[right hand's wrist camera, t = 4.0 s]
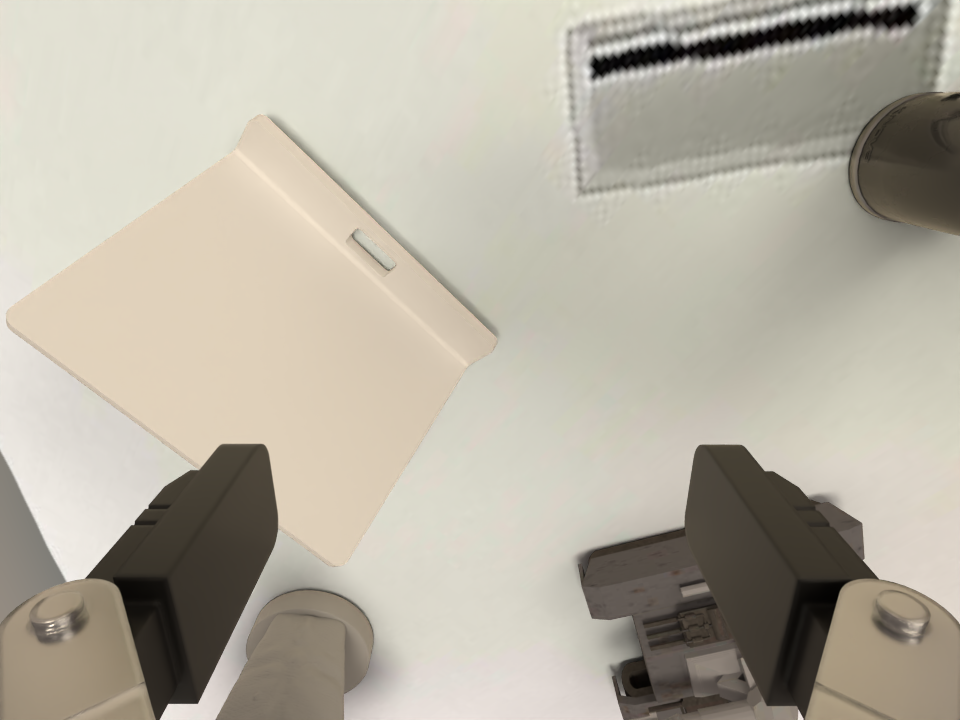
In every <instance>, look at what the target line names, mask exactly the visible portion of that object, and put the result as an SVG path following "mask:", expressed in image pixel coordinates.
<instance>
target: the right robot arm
mask: <svg viewBox="0 0 960 720" xmlns="http://www.w3.org/2000/svg"><path fill="white" fill-rule="evenodd" d="M947 92H949V93H944V92H927V93H918V94H913V95H910V96H907V97H904V98H902V99H899V100H897V101H895V102H894V103H892V104H890V105H889V106H887V107H886V108H885V109H883V110H882V111H881V112H880V113H878V114H877V115H876V116H875V117H874V118H873V119H872V120H871V122H870V123H869V124H868V125H867V126H866V128H865V129H864V131H863V132H862V134H861V135H860V137H859V139H858V141H857V143H856V145H855V148H854V151H853V154H852V158H851V162H850V183H851V188H852V191H853V194H854V196H855V198H856V200H857V201H858V202H859V204H860V205H861V206H862V207H863V208H864V209H865V210H866V211H867V212H869V213H870V214H872V215H874V216H876V217H878V218H881V219H885V220H889V221H894V222H904V223H908V224H912V225H915V226H920V227H924V228H928V229H933V230H937V231H941V232H945V233H950V234H954V235H958V236H960V92H950V91H947ZM277 532H278V510H277V504H276V497H275V490H274V484H273V477H272V470H271V464H270V457H269V452H268V450H267V447H266V446H265V445H264V444H221V445H219V447H218V448H217V449H216V450H215V451H214V452H213V454H212V455H211V456H210V457H209V459H208V460H207V461H206V462H205V464H204V465H203V466H202V467H201V469H200V470H190V471H189V472H187V473H185V474H184V475H182V476H181V477H179V478H178V479H176V480H174V481H173V482H171V483H170V484H168V485H167V486H165V487H164V488H163V489H162V491H161V492H160V493H159V494H158V495H157V496H156V497H155V499H154V500H153V501H152V502H151V503H150V504H149V508H148V509H145V510H144V511H143V512H142V514H141V515H140V516H139V517H138V518H137V519H136V520H135V525H131V526H130V527H129V529H128V530H127V531H126V532H125V533H124V534H123V535H122V537H121V538H120V539H119V540H118V541H117V542H116V544H115V545H114V546H113V547H112V548H111V549H110V550H109V552H108V553H107V554H106V555H105V556H104V557H103V559H102V560H101V561H100V562H99V563H98V564H97V565H96V567H95V568H94V569H93V570H92V571H91V572H90V574H89V575H88V576H87V577H86V578H85V579H81V580H75V581H70V582H66V583H63V584H60V585H57V586H54V587H52V588H49V589H47V590H44V591H43V592H40V593H38V594H36V595H35V596H33V597H31V598H30V599H28V600H26V601H25V602H23V603H22V604H21V605H19V606H18V607H16V608H15V609H14V610H13V611H12V612H11V613H10V614H9V615H8V616H7V617H6V618H5V619H4V620H3V621H2V622H1V624H0V720H160V718H161V716H162V714H163V712H164V710H165V709H166V707H167V705H168V704H198V702H199V700H200V698H201V696H202V694H203V692H204V690H205V688H206V686H207V684H208V682H209V680H210V678H211V676H212V674H213V672H214V670H215V667H216V665H217V663H218V661H219V659H220V657H221V655H222V653H223V651H224V649H225V647H226V645H227V643H228V641H229V639H230V637H231V635H232V632H233V630H234V628H235V626H236V624H237V622H238V620H239V618H240V616H241V614H242V612H243V610H244V608H245V606H246V604H247V602H248V600H249V598H250V595H251V593H252V591H253V589H254V587H255V585H256V583H257V581H258V579H259V577H260V575H261V573H262V571H263V569H264V567H265V565H266V563H267V560H268V558H269V556H270V554H271V552H272V550H273V548H274V545H275V542H276V538H277ZM685 532H686V539H687V543H688V546H689V549H690V551H691V553H692V555H693V557H694V559H695V561H696V563H697V565H698V567H699V569H700V571H701V573H702V575H703V578H704V580H705V582H706V584H707V586H708V588H709V590H710V592H711V594H712V596H713V598H714V600H715V602H716V604H717V606H718V608H719V610H720V612H721V614H722V616H723V618H724V620H725V622H726V624H727V626H728V628H729V630H730V632H731V634H732V636H733V638H734V641H735V643H736V645H737V647H738V649H739V651H740V653H741V655H742V657H743V659H744V661H745V663H746V665H747V667H748V669H749V671H750V673H751V675H752V677H753V679H754V681H755V683H756V685H757V687H758V689H759V691H760V693H761V695H762V697H763V699H764V701H765V704H766V706H797V707H798V709H799V711H800V713H801V715H802V717H803V718H804V720H960V624H959V622H958V621H957V620H956V619H955V618H954V617H953V616H952V615H951V614H950V613H949V612H948V611H947V610H946V609H945V608H944V607H942V606H941V605H939V604H938V603H937V602H935V601H934V600H932V599H930V598H929V597H927V596H925V595H924V594H922V593H920V592H918V591H916V590H913V589H911V588H908V587H906V586H903V585H900V584H897V583H894V582H890V581H885V580H879V579H878V577H877V576H876V575H875V574H874V573H873V572H872V571H871V569H870V568H869V567H868V566H867V565H866V564H865V563H864V561H863V560H862V559H861V558H860V557H859V556H858V555H857V553H856V552H855V551H854V550H853V549H852V548H851V547H850V545H849V544H848V543H847V542H846V541H845V540H844V539H843V537H842V536H841V535H840V534H839V533H838V532H837V531H836V529H835V528H834V527H830V525H829V521H828V520H827V519H826V518H825V517H824V516H823V515H822V513H821V512H820V511H816V508H815V505H814V504H813V503H812V502H811V501H810V500H809V499H808V497H807V496H806V495H805V494H804V493H803V492H802V491H801V489H800V488H799V487H797V486H795V485H794V484H792V483H791V482H789V481H788V480H786V479H784V478H783V477H781V476H780V475H778V474H776V473H775V472H773V471H764V470H763V469H762V467H761V466H760V465H759V464H758V463H757V461H756V460H755V459H754V458H753V456H752V455H751V454H750V453H749V452H748V450H747V449H746V448H745V447H744V446H742V445H699V446H698V447H697V449H696V451H695V454H694V459H693V466H692V473H691V479H690V486H689V492H688V499H687V506H686V512H685Z"/></svg>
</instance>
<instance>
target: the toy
mask: <svg viewBox="0 0 960 720" xmlns="http://www.w3.org/2000/svg"><path fill="white" fill-rule="evenodd" d="M810 501H811V502H812V503H813V504H814V505H815V508H816V511H820V512H821V513H822V515H823V516H824V517H825V518H826V519H827V520H828V521H829V525H830V527H834V528H835V529H836V531H837V532H838V533H839V534H840V535H841V536H842V537H843V539H844V540H845V541H846V542H847V543H848V544H849V545H850V547H851V548H852V549H853V550H854V551H855V552H856V553H857V555H858V556H859V557H860V558H861V559H862V560H863V559H864V544H863V529H862V523H861V522H860V521H858V520H856V519H855V518H853V517H852V516H850V515H848V514H847V513H845V512H843V511H842V510H840V509H839V508H837V507H835V506H834V505H832V504H831V503H829V502H826V503H822V504H821V503H819V502H816V501H812V500H810ZM578 566H579V572H580V578H581V584H582V589H583V592H584V595H585V598H586V601H587V604H588V608H589V611H590V614H591V617H592V619H604V620H612V619H616V618H621V617H626V616H630V615H632V616H633V619H634V623H635V627H636V631H637V634H638V638H639V642H640V645H641V649H642V653H643V656H644V660H642V661H637V662H633V663H628V664H627V665H626V666H625V667H624V669H623V671H622V683H623V686H624V690H625V693H626V696H621V694H620V691H619V687H618V684H617V681H616V677H615V676H612V679H613V683H614V687H615V691H616V696H617V700H618V704H619V707H620V710H621V713H622V716H623V719H624V720H798V707H797V706H766V704H765V701H764V699H763V697H762V695H761V693H760V691H759V689H758V687H757V685H756V683H755V681H754V679H753V677H752V675H751V673H750V671H749V669H748V667H747V665H746V663H745V661H744V659H743V657H742V655H741V653H740V651H739V649H738V647H737V645H736V643H735V641H734V638H733V636H732V634H731V632H730V630H729V628H728V626H727V624H726V622H725V620H724V618H723V616H722V614H721V612H720V610H719V608H718V606H717V604H716V602H715V600H714V598H713V596H712V594H711V592H710V590H709V588H708V586H707V584H706V582H705V580H704V578H703V575H702V573H701V571H700V569H699V567H698V565H697V563H696V561H695V559H694V557H693V555H692V553H691V551H690V549H689V546H688V543H687V539H686V532H685V529H683V530H679V531H675V532H671V533H667V534H662V535H658V536H654V537H650V538H646V539H642V540H638V541H634V542H630V543H626V544H622V545H617V546H613V547H609V548H605V549H601V550H597V551H595V552H593V553H592V554H591V556H590V558H589V562H588V568H587V571H586V574H584V570H583V567H582V564H579V565H578Z"/></svg>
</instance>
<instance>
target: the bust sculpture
mask: <svg viewBox="0 0 960 720" xmlns="http://www.w3.org/2000/svg"><path fill="white" fill-rule="evenodd" d="M372 647H373V632H372V629H371V626H370V624H369V622H368V620H367V618H366V617H365V616H364V614H363V613H362V612H361V611H360V610H359V609H358V608H357V607H356V606H354V605H353V604H352V603H350V602H349V601H347V600H345V599H343V598H341V597H339V596H336V595H334V594H330V593H327V592H322V591H314V590H302V591H294V592H290V593H286V594H284V595H281V596H279V597H277V598H275V599H273V600H272V601H270V602H269V603H268V604H267V605H266V606H265V607H264V608H263V609H262V610H261V612H260V613H259V615H258V617H257V619H256V621H255V624H254V626H253V628H252V630H251V633H250V635H249V637H248V640H247V645H246V654H247V659H248V662H247V663H246V665H245V667H244V669H243V670H242V672H241V674H240V676H239V679H238V680H237V682H236V683H235V685H234V687H233V688H232V690H231V692H230V694H229V696H228V698H227V700H226V701H225V703H224V705H223V707H222V709H221V711H220V713H219V714H218V716H217V718H216V720H344V694H345V693H347V692H349V691H350V690H352V689H353V688H354V687H356V686H357V685H358V684H359V683H360V682H361V681H362V679H363V678H364V676H365V675H366V672H367V670H368V667H369V662H370V657H371V652H372Z"/></svg>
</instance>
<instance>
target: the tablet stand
mask: <svg viewBox="0 0 960 720" xmlns="http://www.w3.org/2000/svg"><path fill="white" fill-rule="evenodd" d="M356 229H360V230H362V231H363V232H364V233H365V234H366V235H367V236H368V237H369V238H370V239H371V240H372V241H373V242H374V243H375V244H376V245H377V246H378V247H379V248H381V249H382V250H383V251H384V252H385V253H386V254H387V255H388V256H389V257H390V258H391V259H392V260H393V261H394V262H395V263H396V266H395V267H394V268H393V269H391V270H390V271H388V270H386V269H384V268H383V267H382V266H381V265H380V264H379V263H378V262H377V261H376V260H375V259H374V258H373V257H372V256H371V255H369V254H368V253H367V252H366V251H365V250H364V249H363V248H362V247H361V246H360V245H359V244H358V243H357V242H356V241H355V240H354V239H353V238H352V233H353V232H354V231H355V230H356ZM6 323H7V326H8V328H9V329H10V330H11V331H12V332H14V333H15V334H16V335H18V336H19V337H20V338H22V339H23V340H24V341H26V342H27V343H28V344H30V345H31V346H33V347H34V348H35V349H37V350H38V351H39V352H41V353H42V354H43V355H45V356H46V357H47V358H49V359H50V360H51V361H53V362H54V363H55V364H57V365H58V366H60V367H61V368H62V369H64V370H65V371H66V372H68V373H69V374H70V375H72V376H73V377H74V378H76V379H77V380H78V381H80V382H81V383H83V384H84V385H85V386H87V387H88V388H89V389H91V390H92V391H93V392H95V393H96V394H97V395H99V396H100V397H101V398H103V399H104V400H105V401H107V402H108V403H110V404H111V405H112V406H114V407H115V408H116V409H118V410H119V411H120V412H122V413H123V414H124V415H126V416H127V417H128V418H130V419H131V420H133V421H134V422H135V423H137V424H138V425H139V426H141V427H142V428H143V429H145V430H146V431H147V432H149V433H150V434H151V435H153V436H154V437H155V438H157V439H158V440H160V441H161V442H162V443H164V444H165V445H166V446H168V447H169V448H170V449H172V450H173V451H174V452H176V453H177V454H178V455H180V456H181V457H182V458H184V459H185V460H187V461H188V462H189V463H191V464H192V465H193V466H195V467H196V468H197V469H199V470H200V469H201V467H202V466H203V465H204V464H205V462H206V461H207V460H208V459H209V457H210V456H211V455H212V454H213V452H214V451H215V450H216V449H217V448H218V447H219V445H221V444H264V445H265V446H266V447H267V450H268V452H269V457H270V464H271V470H272V477H273V484H274V490H275V497H276V504H277V510H278V529H280V530H281V531H282V532H284V533H285V534H287V535H288V536H289V537H291V538H292V539H293V540H295V541H296V542H297V543H299V544H300V545H301V546H303V547H304V548H305V549H307V550H308V551H309V552H311V553H312V554H314V555H315V556H316V557H318V558H319V559H320V560H322V561H323V562H324V563H326V564H327V565H329V566H331V567H336V566H342V565H344V564H345V563H347V562H348V560H349V559H350V557H351V555H352V554H353V552H354V550H355V549H356V547H357V546H358V544H359V542H360V541H361V539H362V537H363V536H364V534H365V533H366V531H367V529H368V528H369V526H370V524H371V523H372V521H373V520H374V518H375V516H376V515H377V513H378V511H379V510H380V508H381V507H382V505H383V503H384V502H385V500H386V498H387V497H388V495H389V493H390V492H391V490H392V489H393V487H394V485H395V484H396V482H397V480H398V479H399V477H400V476H401V474H402V472H403V471H404V469H405V467H406V466H407V464H408V463H409V461H410V459H411V458H412V456H413V454H414V453H415V451H416V450H417V448H418V446H419V445H420V443H421V441H422V440H423V438H424V437H425V435H426V433H427V432H428V430H429V428H430V427H431V425H432V424H433V422H434V420H435V419H436V417H437V415H438V414H439V412H440V411H441V409H442V407H443V406H444V404H445V402H446V401H447V399H448V397H449V396H450V394H451V393H452V391H453V389H454V388H455V386H456V384H457V383H458V381H459V380H460V378H461V376H462V375H463V373H464V371H465V370H466V368H467V367H468V366H469V365H470V364H472V363H474V362H476V361H477V360H479V359H481V358H483V357H485V356H486V355H488V354H490V353H492V351H493V350H494V348H495V346H496V345H497V338H496V337H495V336H494V335H493V334H492V333H491V332H490V331H489V330H488V329H487V328H486V327H485V326H484V325H483V324H482V323H481V322H480V321H479V320H478V319H477V318H476V317H475V316H474V315H473V314H472V313H471V312H470V311H469V310H467V309H466V308H465V307H464V306H463V305H462V304H461V303H460V302H459V301H458V300H457V299H456V298H455V297H454V296H453V295H452V294H451V293H450V292H449V291H448V290H447V289H446V288H445V287H444V286H443V285H442V284H440V283H439V282H438V281H437V280H436V279H435V278H434V277H433V276H432V275H431V274H430V273H429V272H428V271H427V270H426V269H425V268H424V267H423V266H422V265H421V264H420V263H419V262H418V261H417V260H416V259H415V258H413V257H412V256H411V255H410V254H409V253H408V252H407V251H406V250H405V249H404V248H403V247H402V246H401V245H400V244H399V243H398V242H397V241H396V240H395V239H394V238H393V237H392V236H391V235H390V234H389V233H387V232H386V231H385V230H384V229H383V228H382V227H381V226H380V225H379V224H378V223H377V222H376V221H375V220H374V219H373V218H372V217H371V216H370V215H369V214H368V213H367V212H366V211H365V210H364V209H363V208H362V207H360V206H359V205H358V204H357V203H356V202H355V201H354V200H353V199H352V198H351V197H350V196H349V195H348V194H347V193H346V192H345V191H344V190H343V189H342V188H341V187H340V186H339V185H338V184H337V183H336V182H334V181H333V180H332V179H331V178H330V177H329V176H328V175H327V174H326V173H325V172H324V171H323V170H322V169H321V168H320V167H319V166H318V165H317V164H316V163H315V162H314V161H313V160H312V159H311V158H310V157H309V156H307V155H306V154H305V153H304V152H303V151H302V150H301V149H300V148H299V147H298V146H297V145H296V144H295V143H294V142H293V141H292V140H291V139H290V138H289V137H288V136H287V135H286V134H285V133H284V132H283V131H282V130H280V129H279V128H278V127H277V126H276V125H275V124H274V123H273V122H272V121H271V120H270V119H269V118H268V117H266V116H265V115H257V116H256V117H255V118H253V119H252V120H250V121H249V122H248V124H247V126H246V128H245V130H244V132H243V134H242V136H241V139H240V141H239V143H238V145H237V147H236V149H235V150H234V151H233V152H231V153H230V154H229V155H227V156H226V157H224V158H223V159H221V160H220V161H219V162H217V163H216V164H214V165H213V166H211V167H210V168H209V169H207V170H206V171H204V172H203V173H201V174H200V175H199V176H197V177H196V178H194V179H193V180H191V181H190V182H189V183H187V184H186V185H184V186H183V187H181V188H180V189H179V190H177V191H176V192H174V193H173V194H171V195H170V196H169V197H167V198H166V199H164V200H163V201H161V202H160V203H159V204H157V205H156V206H154V207H153V208H151V209H150V210H149V211H147V212H146V213H144V214H143V215H141V216H140V217H139V218H137V219H136V220H134V221H133V222H131V223H130V224H129V225H127V226H126V227H124V228H123V229H121V230H120V231H119V232H117V233H116V234H114V235H113V236H111V237H110V238H109V239H107V240H106V241H104V242H103V243H102V244H100V245H99V246H97V247H96V248H94V249H93V250H92V251H90V252H89V253H87V254H86V255H84V256H83V257H82V258H80V259H79V260H77V261H76V262H74V263H73V264H72V265H70V266H69V267H67V268H66V269H64V270H63V271H62V272H60V273H59V274H57V275H56V276H54V277H53V278H52V279H50V280H49V281H47V282H46V283H44V284H43V285H42V286H40V287H39V288H37V289H36V290H34V291H33V292H32V293H30V294H29V295H27V296H26V297H24V298H23V299H22V300H20V301H19V302H17V303H16V304H14V305H13V306H12V307H10V308H9V309H8V311H7V314H6Z"/></svg>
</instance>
